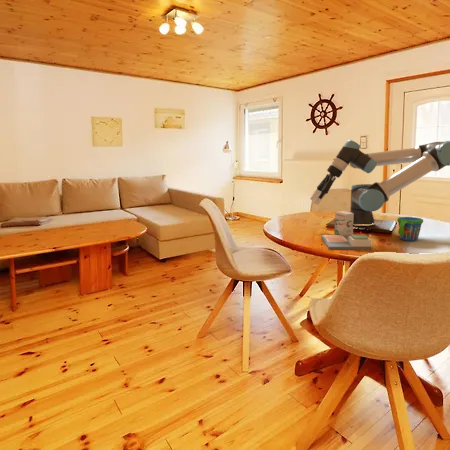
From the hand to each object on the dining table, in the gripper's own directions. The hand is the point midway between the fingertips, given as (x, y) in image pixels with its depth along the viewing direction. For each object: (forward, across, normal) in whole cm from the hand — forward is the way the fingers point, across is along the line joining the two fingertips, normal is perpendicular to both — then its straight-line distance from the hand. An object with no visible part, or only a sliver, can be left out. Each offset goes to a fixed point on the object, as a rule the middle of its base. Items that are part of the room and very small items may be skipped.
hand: (313, 201), depth 193 cm
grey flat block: (+7, +29, +17) cm, 34 cm away
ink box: (+6, +12, +20) cm, 24 cm away
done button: (+3, +35, +20) cm, 41 cm away
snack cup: (-9, +22, +43) cm, 50 cm away
